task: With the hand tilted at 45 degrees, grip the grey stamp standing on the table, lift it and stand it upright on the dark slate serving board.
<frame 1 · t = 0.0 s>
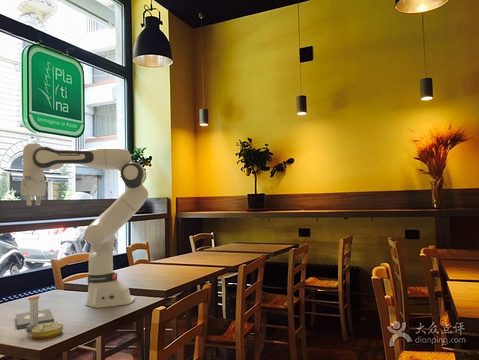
hand: (33, 205, 184), 48 cm above the table, tool pointing down, fingers open, 8 cm apart
slate board: (34, 320, 161), on the table
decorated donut: (47, 335, 142), on the table
grey stamp: (34, 329, 149), on the table
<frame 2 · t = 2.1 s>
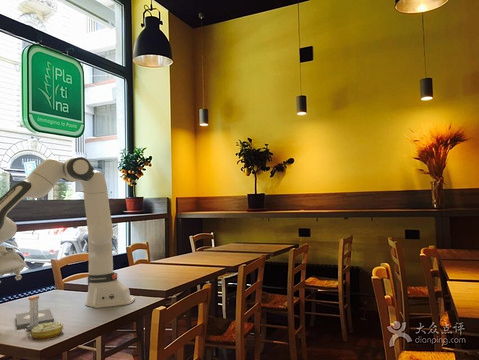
hand: (9, 281, 154), 18 cm above the table, tool tilted 45°, fingers open, 8 cm apart
nothing on the table moved.
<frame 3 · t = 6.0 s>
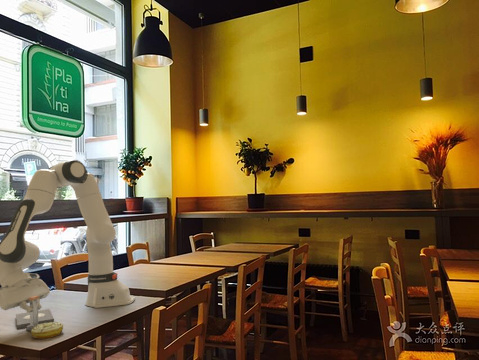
hand: (35, 310, 149), 7 cm above the table, tool tilted 45°, fingers closed on grey stamp, 2 cm apart
grey stamp: (34, 329, 149), on the table, touching gripper
everything else where it was.
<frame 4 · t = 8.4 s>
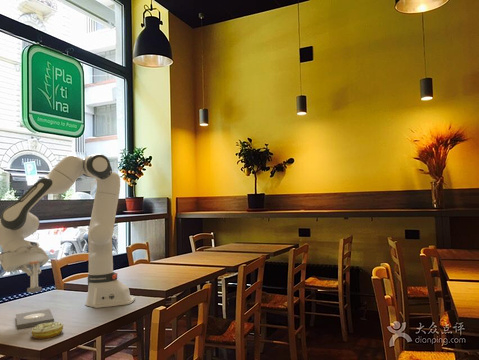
hand: (35, 273, 161), 19 cm above the table, tool tilted 45°, fingers closed on grey stamp, 2 cm apart
grey stamp: (34, 291, 161), point 12 cm above the table, touching gripper
everything else where it was.
when the fingers open (10 cm above the table, at t = 10.7 s): grey stamp drops 1 cm, resting on slate board.
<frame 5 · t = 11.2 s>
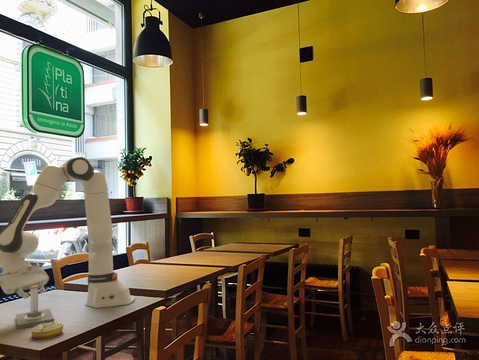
hand: (35, 295, 161), 10 cm above the table, tool tilted 45°, fingers open, 7 cm apart
grey stamp: (34, 316, 161), point 2 cm above the table, touching slate board
everything else where it was.
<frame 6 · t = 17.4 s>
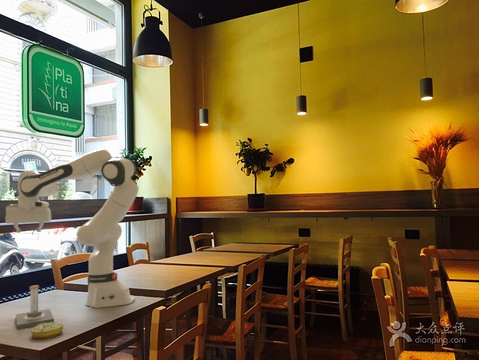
hand: (28, 232, 188), 35 cm above the table, tool pointing down, fingers open, 8 cm apart
nothing on the table moved.
at the end: grey stamp inside the target area on the slate board (0.1 cm from its centre), point 1.6 cm above the slate board's base; grey stamp tilted 0°; the gripper is holding nothing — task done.
